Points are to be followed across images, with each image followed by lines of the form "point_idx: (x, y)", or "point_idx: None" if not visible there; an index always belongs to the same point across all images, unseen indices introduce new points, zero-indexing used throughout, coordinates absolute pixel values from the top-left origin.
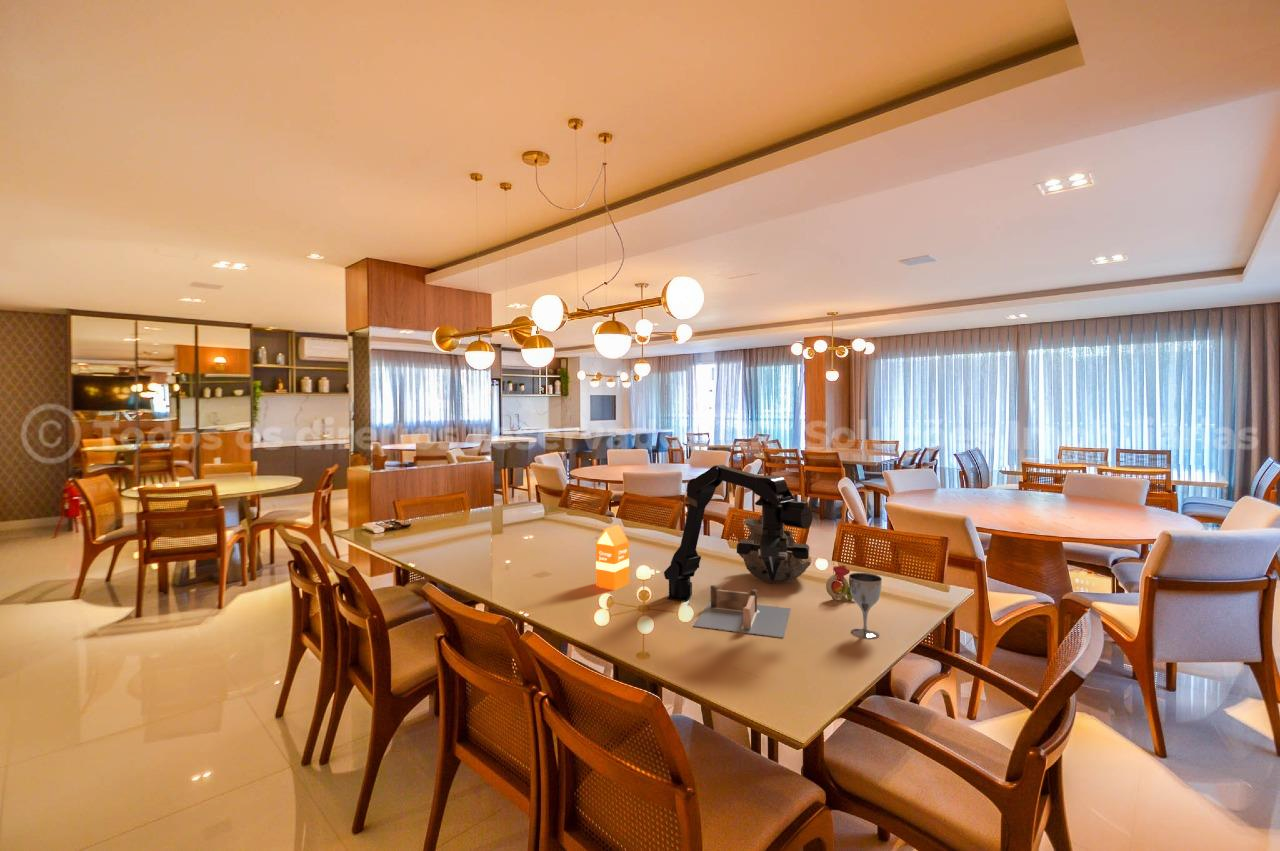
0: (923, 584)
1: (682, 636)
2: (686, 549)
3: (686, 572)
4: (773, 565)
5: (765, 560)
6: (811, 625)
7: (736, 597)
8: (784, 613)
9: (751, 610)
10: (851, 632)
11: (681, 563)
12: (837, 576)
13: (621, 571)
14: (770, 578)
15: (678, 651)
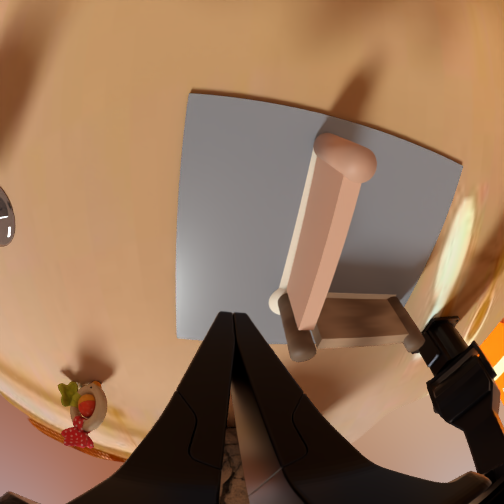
0: (26, 410)
1: (480, 102)
2: (494, 413)
3: (466, 367)
4: (231, 458)
5: (373, 486)
6: (102, 236)
7: (351, 325)
8: (190, 303)
9: (319, 225)
10: (11, 210)
11: (490, 376)
12: (81, 425)
13: (499, 355)
14: (253, 323)
15: (477, 22)
